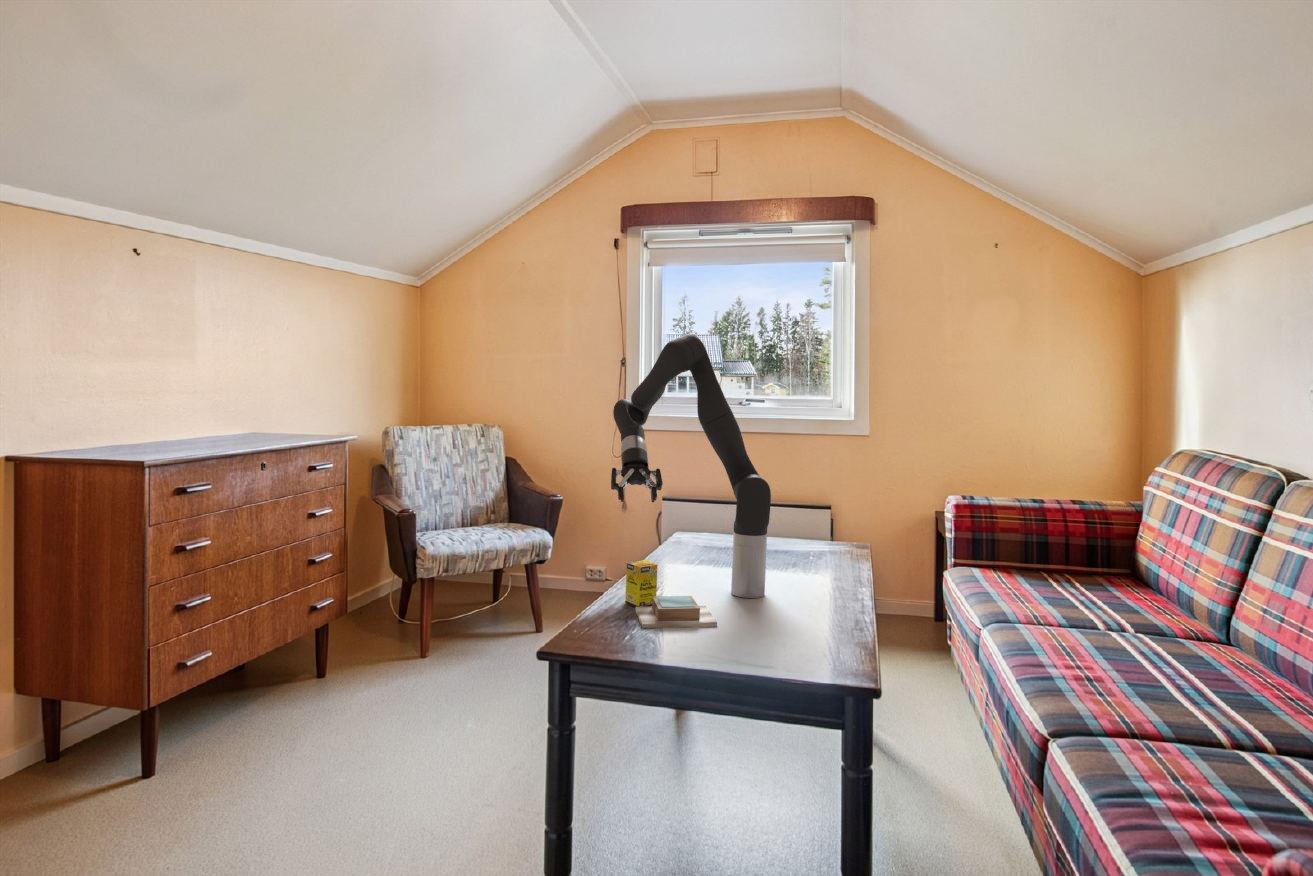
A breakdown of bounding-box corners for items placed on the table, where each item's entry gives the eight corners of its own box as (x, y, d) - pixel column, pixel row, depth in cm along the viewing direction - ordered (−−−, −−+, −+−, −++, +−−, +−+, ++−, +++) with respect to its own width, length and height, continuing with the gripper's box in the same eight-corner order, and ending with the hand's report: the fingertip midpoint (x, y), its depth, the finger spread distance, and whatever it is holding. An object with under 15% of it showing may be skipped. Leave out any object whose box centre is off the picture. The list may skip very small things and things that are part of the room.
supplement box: (638, 609, 180) (640, 567, 179) (624, 603, 184) (625, 562, 184) (656, 605, 184) (658, 564, 183) (642, 599, 188) (643, 559, 188)
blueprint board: (635, 610, 179) (635, 594, 179) (705, 609, 182) (705, 593, 181) (642, 628, 166) (642, 610, 166) (717, 626, 169) (717, 609, 168)
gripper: (610, 445, 200) (613, 492, 190) (660, 446, 203) (665, 492, 192) (608, 462, 206) (610, 508, 195) (656, 463, 208) (661, 508, 198)
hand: (638, 500), depth 194 cm, fingers open, 8 cm apart
